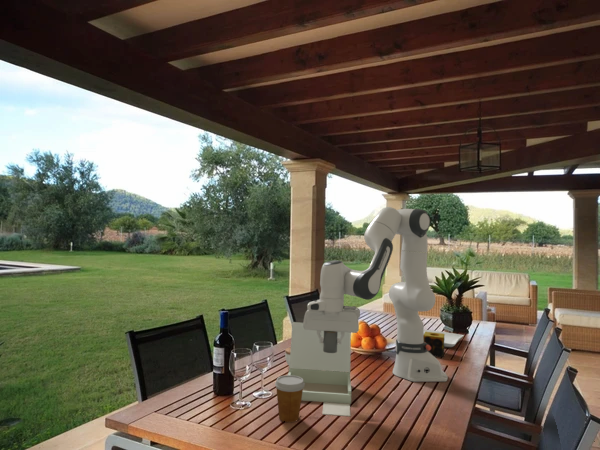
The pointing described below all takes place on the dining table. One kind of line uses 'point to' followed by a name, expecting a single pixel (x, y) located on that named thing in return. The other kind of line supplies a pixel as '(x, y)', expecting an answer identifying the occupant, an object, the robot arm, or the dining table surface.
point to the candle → (435, 343)
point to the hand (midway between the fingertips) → (330, 343)
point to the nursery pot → (330, 342)
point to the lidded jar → (288, 355)
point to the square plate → (448, 338)
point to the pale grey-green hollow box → (320, 366)
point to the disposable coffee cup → (289, 397)
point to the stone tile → (336, 409)
